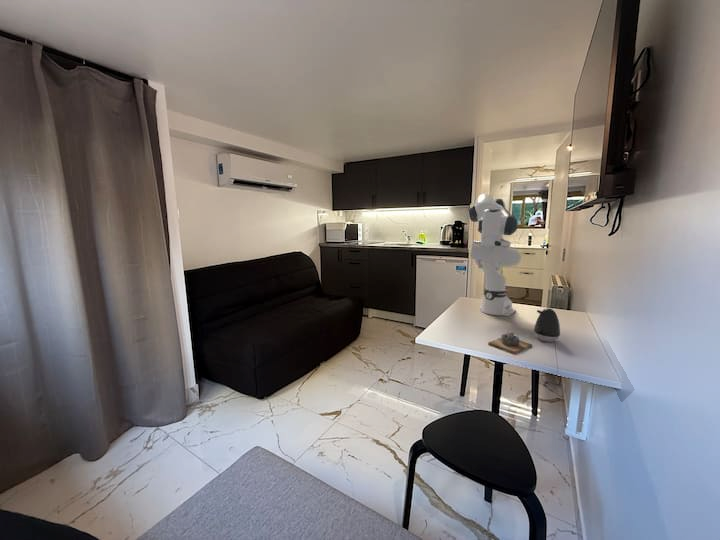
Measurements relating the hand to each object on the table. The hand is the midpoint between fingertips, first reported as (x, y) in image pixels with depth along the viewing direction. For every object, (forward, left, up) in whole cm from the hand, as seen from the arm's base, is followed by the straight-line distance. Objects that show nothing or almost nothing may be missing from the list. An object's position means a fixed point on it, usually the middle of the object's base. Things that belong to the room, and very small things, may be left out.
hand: (488, 269), depth 148 cm
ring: (+10, +19, -30) cm, 37 cm away
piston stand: (+10, +19, -31) cm, 38 cm away
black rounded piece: (-10, +25, -31) cm, 41 cm away
